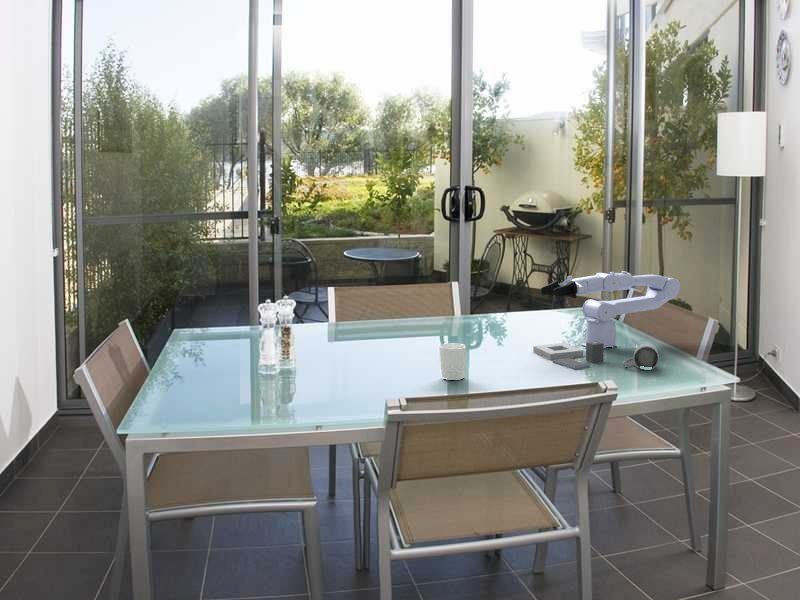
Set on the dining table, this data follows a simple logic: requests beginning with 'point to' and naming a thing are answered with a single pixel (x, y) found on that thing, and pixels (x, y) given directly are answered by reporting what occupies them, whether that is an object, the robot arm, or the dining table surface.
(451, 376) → the white cup
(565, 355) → the outlet plate
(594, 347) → the block
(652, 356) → the ceramic mug
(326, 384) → the dining table surface
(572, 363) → the phone
